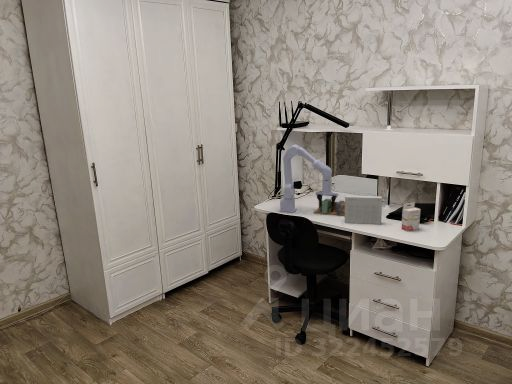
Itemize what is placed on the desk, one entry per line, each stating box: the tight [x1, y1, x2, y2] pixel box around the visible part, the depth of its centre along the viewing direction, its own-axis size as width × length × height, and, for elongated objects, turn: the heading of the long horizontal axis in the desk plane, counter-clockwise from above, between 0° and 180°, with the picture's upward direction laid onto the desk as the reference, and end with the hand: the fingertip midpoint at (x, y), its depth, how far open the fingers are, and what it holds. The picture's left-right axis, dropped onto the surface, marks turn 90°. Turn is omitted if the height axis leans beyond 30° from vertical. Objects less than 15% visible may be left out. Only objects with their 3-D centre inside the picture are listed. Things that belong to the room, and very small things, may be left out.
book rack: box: [313, 200, 345, 217], centre depth 259 cm, size 20×11×8 cm, turn 64°
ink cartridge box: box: [401, 201, 421, 232], centre depth 222 cm, size 9×5×15 cm, turn 112°
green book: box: [322, 198, 331, 213], centre depth 260 cm, size 4×9×7 cm, turn 153°
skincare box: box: [344, 195, 383, 225], centre depth 237 cm, size 21×6×16 cm, turn 74°
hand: (326, 206), depth 260 cm, fingers open, 7 cm apart
